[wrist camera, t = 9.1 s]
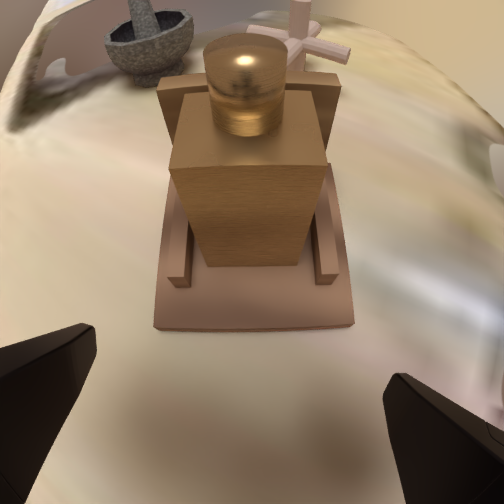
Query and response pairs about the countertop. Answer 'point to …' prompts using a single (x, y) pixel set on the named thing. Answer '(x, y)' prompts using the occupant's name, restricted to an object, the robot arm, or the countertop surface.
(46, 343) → the robot arm
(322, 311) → the bronze stepped stand
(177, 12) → the mortar and pestle
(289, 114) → the bronze perfume bottle
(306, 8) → the pipe connector
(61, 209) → the countertop surface
